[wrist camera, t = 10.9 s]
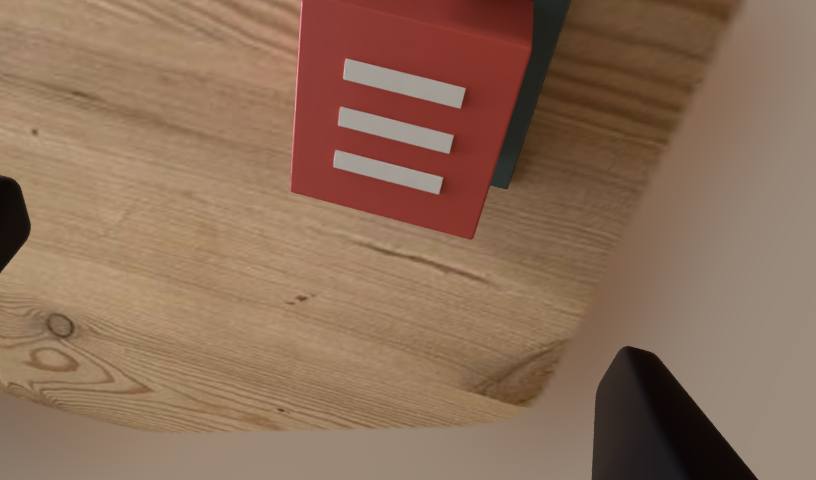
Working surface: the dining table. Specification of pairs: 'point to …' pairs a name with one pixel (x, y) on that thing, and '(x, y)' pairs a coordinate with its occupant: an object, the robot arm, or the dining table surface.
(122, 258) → the dining table surface
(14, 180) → the robot arm
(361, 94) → the white-striped red block
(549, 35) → the white cube on base
